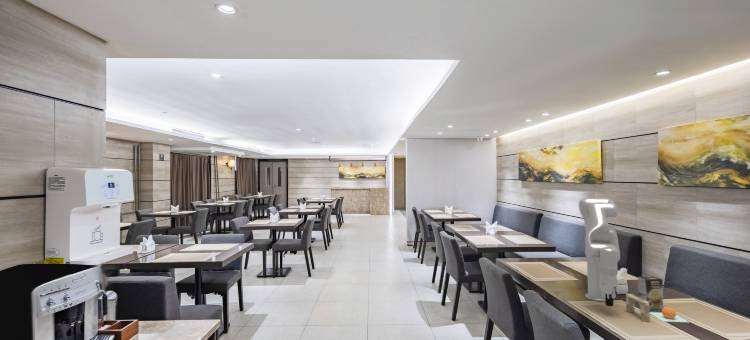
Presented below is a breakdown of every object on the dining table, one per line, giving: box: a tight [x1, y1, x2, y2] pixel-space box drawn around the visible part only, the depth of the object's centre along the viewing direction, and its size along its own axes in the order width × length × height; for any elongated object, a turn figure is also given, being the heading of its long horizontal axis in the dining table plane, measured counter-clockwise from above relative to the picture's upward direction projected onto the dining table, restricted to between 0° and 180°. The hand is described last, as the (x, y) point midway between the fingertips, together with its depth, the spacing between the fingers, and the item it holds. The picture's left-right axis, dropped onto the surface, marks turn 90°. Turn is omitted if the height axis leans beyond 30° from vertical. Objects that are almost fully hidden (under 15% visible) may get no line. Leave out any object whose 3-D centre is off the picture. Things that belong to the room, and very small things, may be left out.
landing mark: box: [649, 311, 690, 323], centre depth 178 cm, size 12×12×1 cm
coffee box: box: [637, 276, 664, 310], centre depth 193 cm, size 9×6×16 cm
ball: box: [661, 306, 677, 319], centre depth 177 cm, size 6×6×6 cm
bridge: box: [625, 293, 651, 323], centre depth 180 cm, size 3×14×9 cm, turn 172°
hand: (609, 305), depth 183 cm, fingers closed
